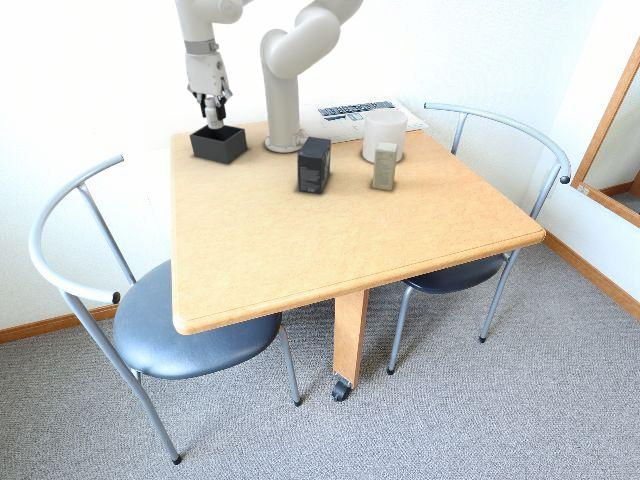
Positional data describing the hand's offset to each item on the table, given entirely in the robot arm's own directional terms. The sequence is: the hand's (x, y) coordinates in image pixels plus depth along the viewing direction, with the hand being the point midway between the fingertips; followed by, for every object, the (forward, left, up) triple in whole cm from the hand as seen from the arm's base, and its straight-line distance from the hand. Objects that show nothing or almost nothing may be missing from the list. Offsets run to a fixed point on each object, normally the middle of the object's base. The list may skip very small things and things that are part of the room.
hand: (214, 117), depth 104 cm
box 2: (-50, -2, -11) cm, 51 cm away
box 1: (-33, +4, -11) cm, 35 cm away
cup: (-45, -18, -11) cm, 50 cm away
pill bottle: (0, 0, -3) cm, 3 cm away
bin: (0, 0, -11) cm, 11 cm away
